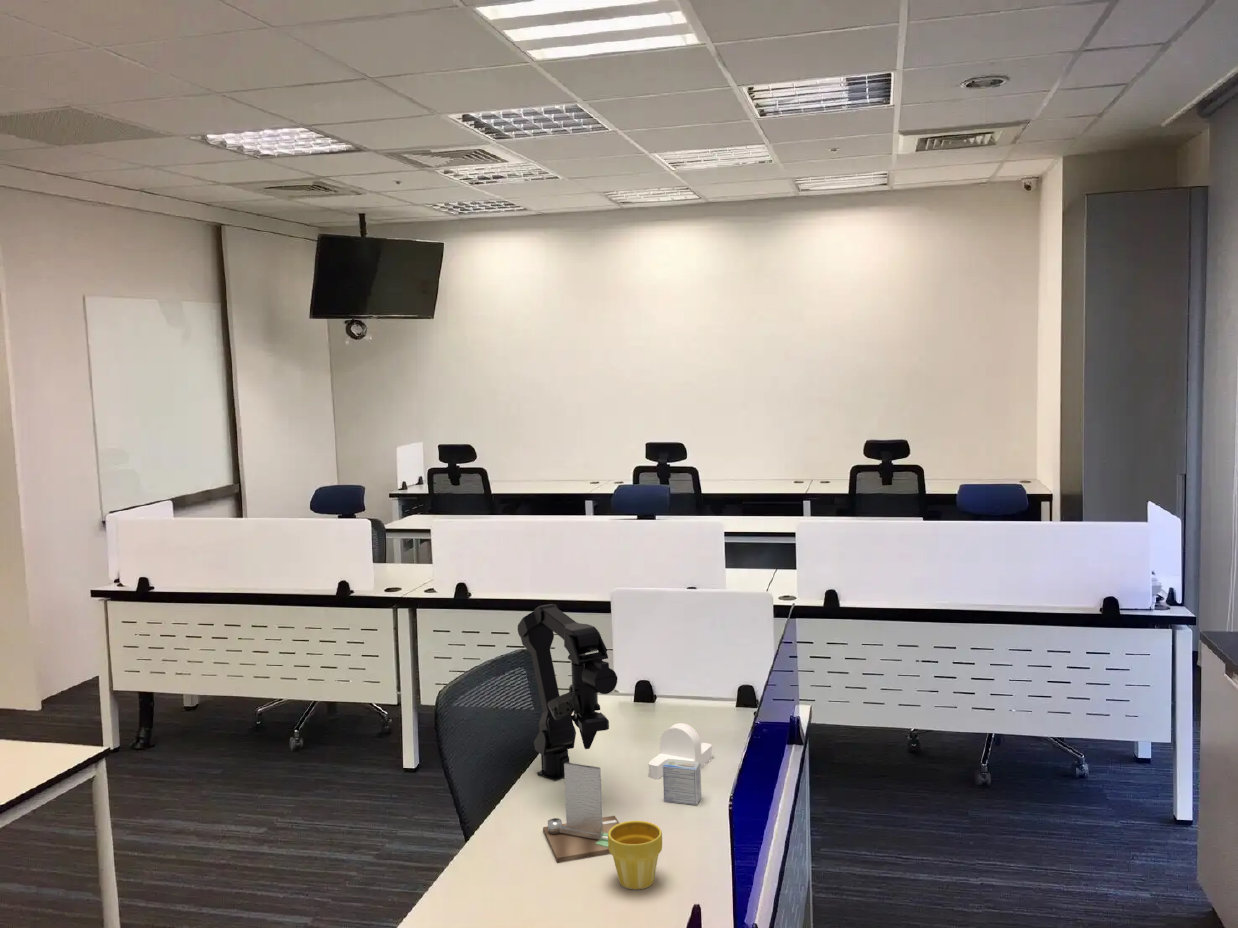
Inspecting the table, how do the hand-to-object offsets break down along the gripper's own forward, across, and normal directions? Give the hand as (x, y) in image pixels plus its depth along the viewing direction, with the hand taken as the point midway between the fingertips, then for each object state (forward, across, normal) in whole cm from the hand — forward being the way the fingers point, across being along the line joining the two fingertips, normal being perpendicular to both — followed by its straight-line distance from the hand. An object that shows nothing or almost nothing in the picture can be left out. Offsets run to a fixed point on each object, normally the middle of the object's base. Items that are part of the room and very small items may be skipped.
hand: (587, 748), depth 219 cm
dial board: (+12, +19, -5) cm, 23 cm away
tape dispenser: (+12, -10, +26) cm, 31 cm away
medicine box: (+12, +8, +20) cm, 25 cm away
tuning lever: (+11, +19, -6) cm, 23 cm away
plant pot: (+12, +38, 0) cm, 40 cm away
